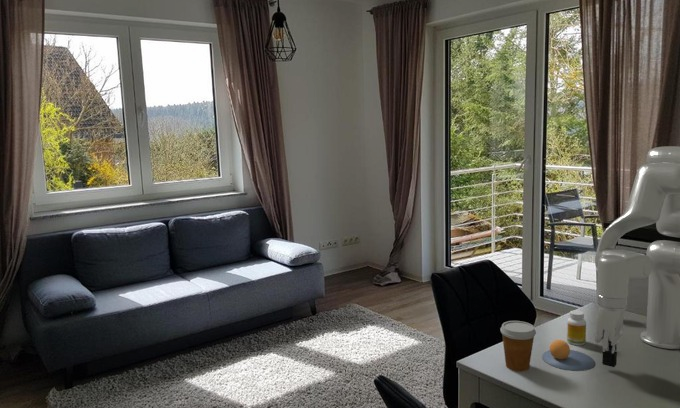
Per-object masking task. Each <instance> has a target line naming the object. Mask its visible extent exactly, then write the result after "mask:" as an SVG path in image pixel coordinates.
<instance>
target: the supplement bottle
mask: <svg viewBox="0 0 680 408" xmlns="http://www.w3.org/2000/svg"><path fill="white" fill-rule="evenodd" d="M584 316H585V313H584V312H583V311H580V310H570V312H569V317H568V318H567V321H566V343H567V344H570V345H573V346H583V345H586V339H587V338H586V337H587V336H586V335H587V321H586V319H584Z"/></svg>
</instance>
